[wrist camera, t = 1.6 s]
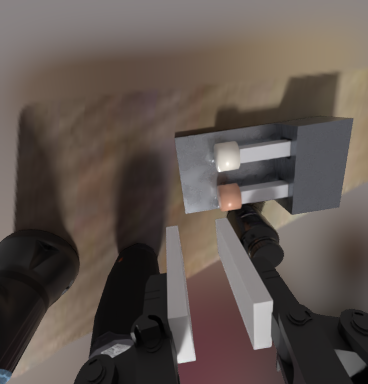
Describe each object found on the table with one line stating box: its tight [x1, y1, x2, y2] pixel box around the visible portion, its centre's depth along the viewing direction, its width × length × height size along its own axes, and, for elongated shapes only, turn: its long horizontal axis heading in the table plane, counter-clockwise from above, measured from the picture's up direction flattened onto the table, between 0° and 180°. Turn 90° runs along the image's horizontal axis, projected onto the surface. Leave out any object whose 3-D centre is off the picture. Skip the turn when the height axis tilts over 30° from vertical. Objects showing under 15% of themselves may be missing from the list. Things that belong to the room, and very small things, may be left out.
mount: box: [175, 116, 353, 215], centre depth 36 cm, size 25×14×7 cm, turn 98°
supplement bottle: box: [227, 204, 284, 268], centre depth 37 cm, size 7×7×12 cm
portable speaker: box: [89, 243, 160, 359], centre depth 35 cm, size 9×9×20 cm
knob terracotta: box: [217, 180, 289, 211], centre depth 37 cm, size 13×4×4 cm, turn 98°
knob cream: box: [214, 139, 292, 172], centre depth 34 cm, size 13×4×4 cm, turn 98°
